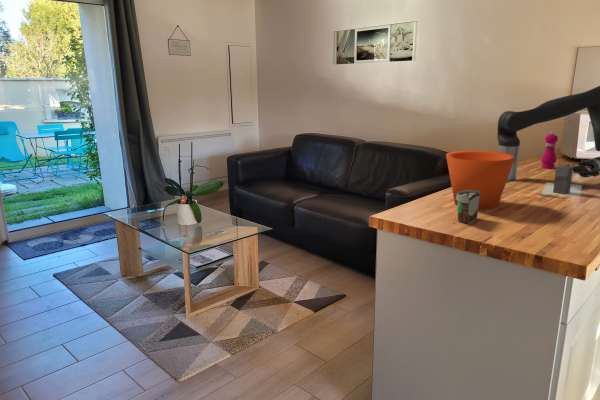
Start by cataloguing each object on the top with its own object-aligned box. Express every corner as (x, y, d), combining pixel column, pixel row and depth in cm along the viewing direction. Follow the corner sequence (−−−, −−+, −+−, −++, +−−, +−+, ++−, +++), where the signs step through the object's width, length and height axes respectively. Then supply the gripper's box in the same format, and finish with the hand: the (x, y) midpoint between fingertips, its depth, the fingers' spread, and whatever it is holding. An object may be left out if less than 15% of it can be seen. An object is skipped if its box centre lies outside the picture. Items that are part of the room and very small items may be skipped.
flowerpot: (489, 217, 159) (494, 163, 154) (430, 204, 178) (433, 155, 173) (521, 204, 174) (527, 154, 169) (464, 193, 193) (467, 148, 188)
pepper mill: (537, 167, 243) (541, 131, 238) (546, 166, 246) (550, 130, 241) (549, 169, 237) (554, 132, 232) (558, 168, 240) (563, 131, 235)
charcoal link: (564, 194, 182) (567, 168, 179) (552, 192, 185) (556, 166, 183) (569, 192, 184) (573, 167, 182) (558, 190, 188) (561, 165, 185)
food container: (461, 214, 163) (463, 188, 161) (478, 217, 160) (480, 190, 157) (448, 222, 154) (450, 195, 152) (466, 226, 150) (468, 197, 148)
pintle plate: (580, 200, 177) (581, 190, 176) (540, 196, 185) (542, 186, 184) (581, 187, 197) (582, 178, 196) (546, 184, 204) (547, 175, 203)
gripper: (574, 157, 201) (556, 162, 192) (609, 161, 189) (592, 166, 181) (571, 173, 203) (554, 178, 194) (606, 178, 191) (589, 184, 183)
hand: (572, 172), depth 187 cm, fingers open, 8 cm apart
